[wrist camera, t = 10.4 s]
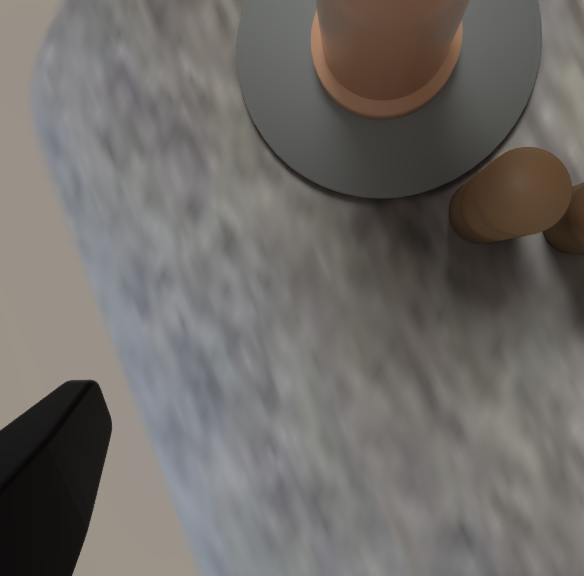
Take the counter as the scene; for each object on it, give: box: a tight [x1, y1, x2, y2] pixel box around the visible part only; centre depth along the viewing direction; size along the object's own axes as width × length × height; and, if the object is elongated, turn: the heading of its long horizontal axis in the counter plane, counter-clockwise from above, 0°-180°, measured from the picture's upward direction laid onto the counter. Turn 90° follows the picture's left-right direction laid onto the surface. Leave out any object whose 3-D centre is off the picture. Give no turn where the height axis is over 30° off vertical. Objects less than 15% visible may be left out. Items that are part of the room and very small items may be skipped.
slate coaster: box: [237, 0, 542, 199], centre depth 20 cm, size 11×11×1 cm
